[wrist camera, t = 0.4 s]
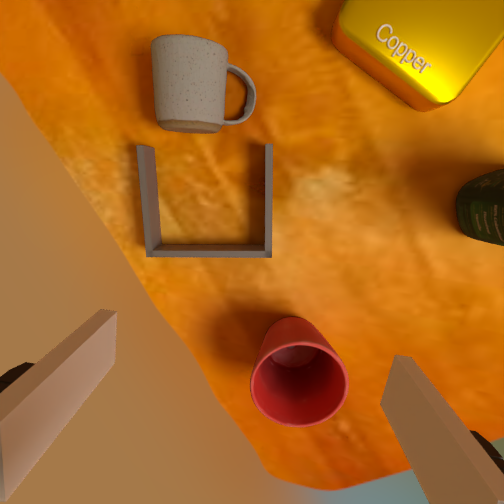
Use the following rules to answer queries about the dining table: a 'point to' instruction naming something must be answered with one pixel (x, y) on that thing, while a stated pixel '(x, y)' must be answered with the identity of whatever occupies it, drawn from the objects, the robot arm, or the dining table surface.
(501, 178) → the coffee jar
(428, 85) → the element tile
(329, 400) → the flower pot
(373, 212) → the dining table surface
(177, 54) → the ceramic mug
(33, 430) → the robot arm
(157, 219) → the box
